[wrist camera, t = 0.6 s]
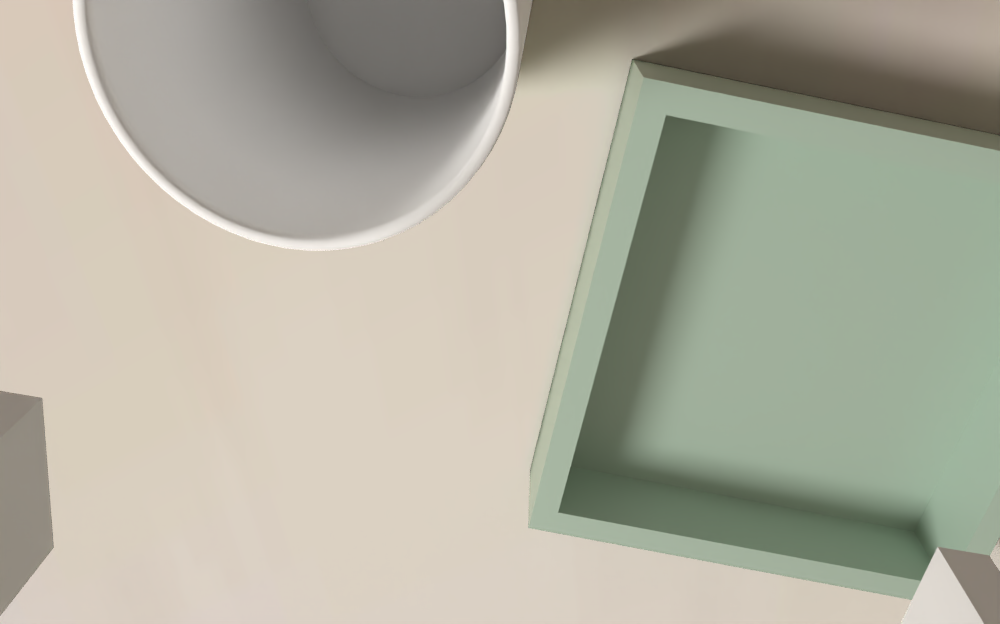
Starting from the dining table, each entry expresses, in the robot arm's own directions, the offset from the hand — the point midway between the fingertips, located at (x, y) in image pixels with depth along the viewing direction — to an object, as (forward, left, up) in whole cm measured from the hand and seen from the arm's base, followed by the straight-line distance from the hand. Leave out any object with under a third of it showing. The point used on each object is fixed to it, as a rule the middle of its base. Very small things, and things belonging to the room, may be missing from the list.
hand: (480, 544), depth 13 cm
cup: (-6, -5, -22) cm, 23 cm away
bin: (+4, +12, -22) cm, 25 cm away
